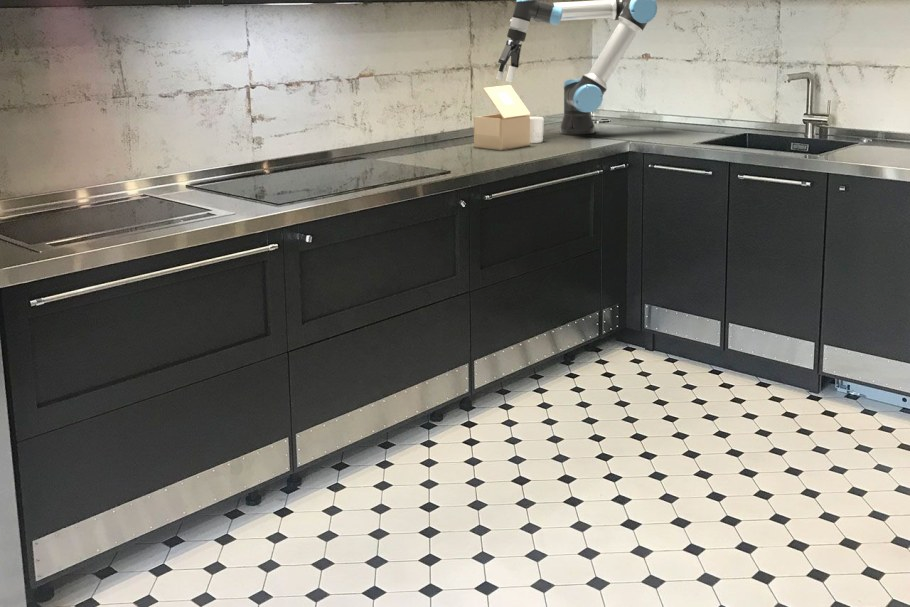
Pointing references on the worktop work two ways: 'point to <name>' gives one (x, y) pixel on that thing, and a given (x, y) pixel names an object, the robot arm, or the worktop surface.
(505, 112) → the lid flap
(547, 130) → the worktop surface
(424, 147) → the worktop surface
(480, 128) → the carton
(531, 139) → the white cup
